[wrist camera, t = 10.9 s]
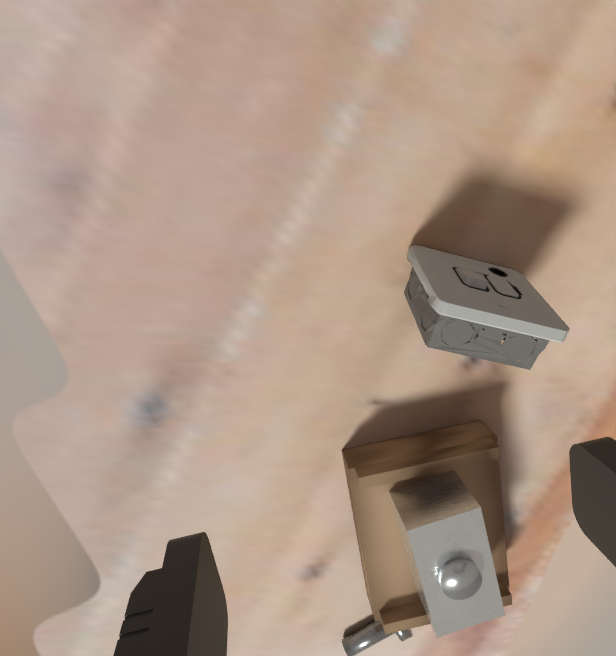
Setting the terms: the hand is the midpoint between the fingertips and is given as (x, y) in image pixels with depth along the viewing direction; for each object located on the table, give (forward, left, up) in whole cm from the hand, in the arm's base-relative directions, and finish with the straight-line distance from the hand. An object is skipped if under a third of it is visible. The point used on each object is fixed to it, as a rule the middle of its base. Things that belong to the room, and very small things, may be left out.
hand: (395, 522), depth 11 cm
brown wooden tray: (-8, +23, -30) cm, 38 cm away
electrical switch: (-13, +4, -30) cm, 33 cm away
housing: (-8, +23, -27) cm, 36 cm away
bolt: (-2, +34, -30) cm, 45 cm away
